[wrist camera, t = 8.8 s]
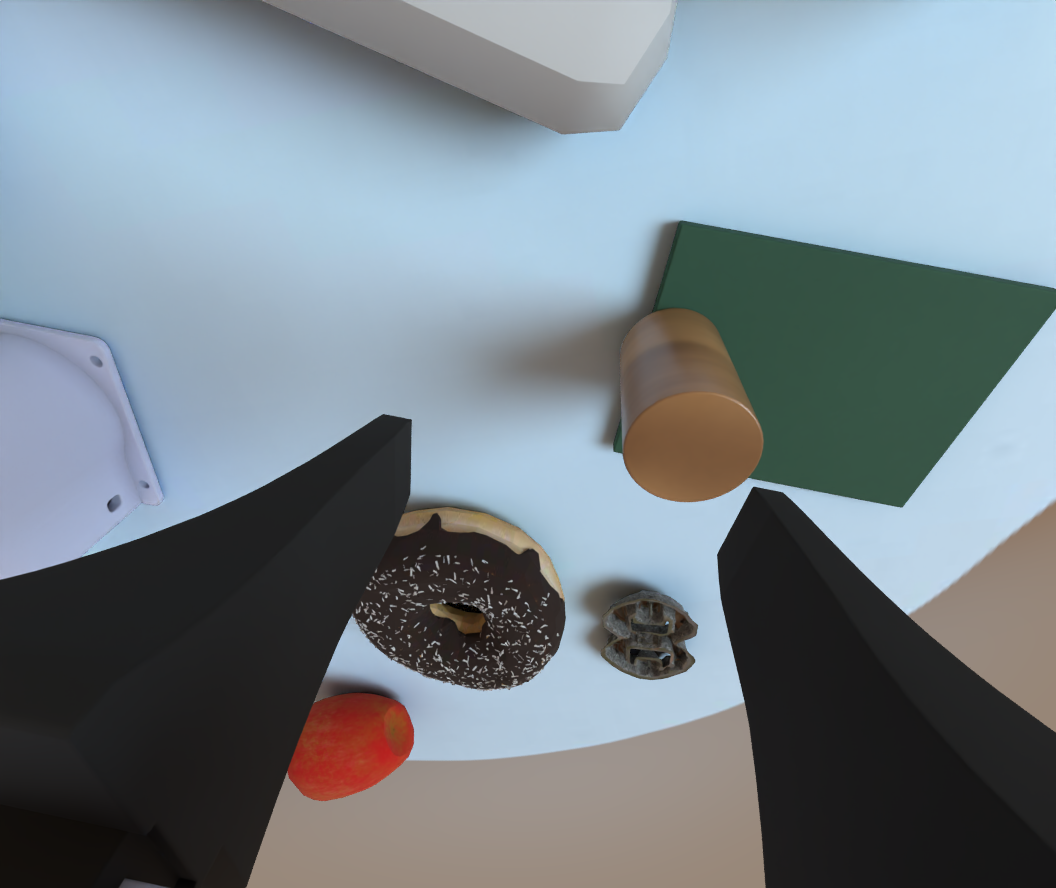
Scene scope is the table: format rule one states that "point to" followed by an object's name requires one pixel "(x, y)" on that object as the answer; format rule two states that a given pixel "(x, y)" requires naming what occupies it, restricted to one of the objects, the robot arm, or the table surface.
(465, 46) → the tube
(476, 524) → the donut
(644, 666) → the corroded twin loop
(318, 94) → the table surface
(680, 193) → the table surface
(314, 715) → the apple
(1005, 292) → the mat
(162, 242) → the table surface
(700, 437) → the cork
